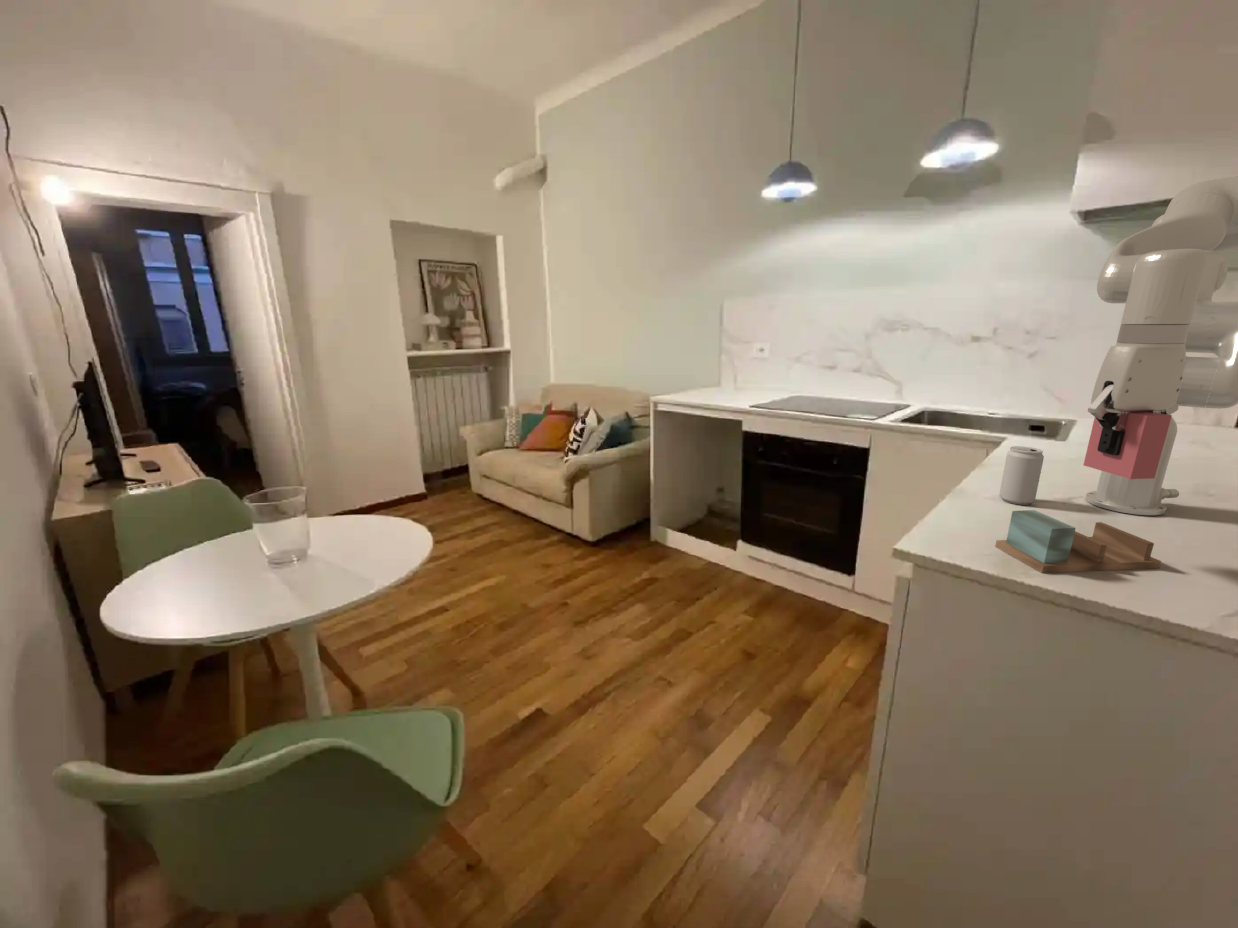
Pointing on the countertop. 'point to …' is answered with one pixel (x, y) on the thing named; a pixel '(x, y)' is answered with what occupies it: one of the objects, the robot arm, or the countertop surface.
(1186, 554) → the countertop surface
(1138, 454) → the dusty red block
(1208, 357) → the robot arm
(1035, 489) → the beverage can
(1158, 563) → the rack
